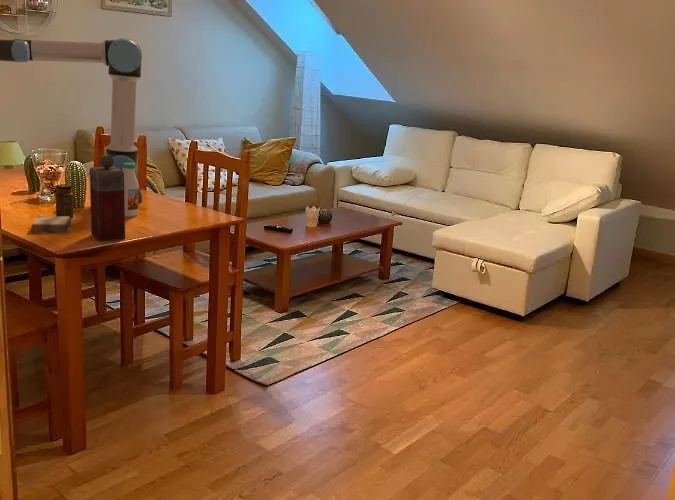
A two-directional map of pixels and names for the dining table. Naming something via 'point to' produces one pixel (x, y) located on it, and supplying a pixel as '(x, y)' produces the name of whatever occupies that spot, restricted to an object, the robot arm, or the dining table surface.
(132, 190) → the milk bottle
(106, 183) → the square decanter
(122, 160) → the robot arm
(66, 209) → the condiment
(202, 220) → the dining table surface
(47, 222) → the stand
